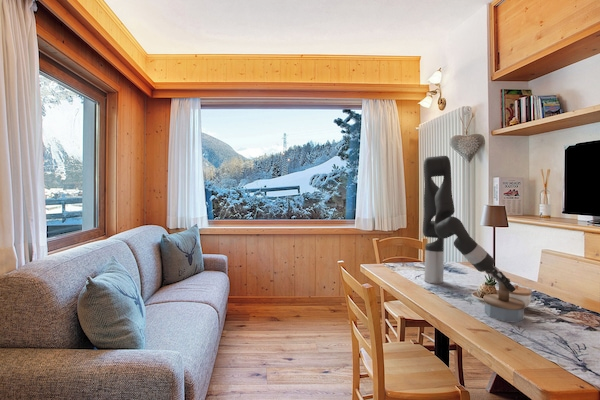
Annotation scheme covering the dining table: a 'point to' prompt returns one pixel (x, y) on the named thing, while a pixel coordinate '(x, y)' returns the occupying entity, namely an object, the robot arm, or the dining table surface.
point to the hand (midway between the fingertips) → (509, 288)
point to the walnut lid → (504, 299)
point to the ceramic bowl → (504, 313)
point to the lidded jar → (521, 294)
